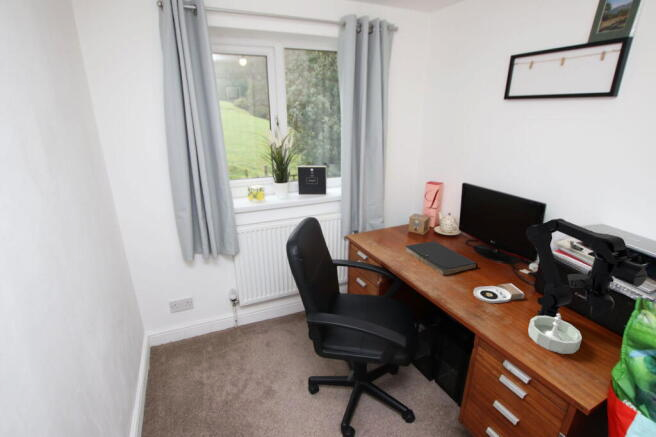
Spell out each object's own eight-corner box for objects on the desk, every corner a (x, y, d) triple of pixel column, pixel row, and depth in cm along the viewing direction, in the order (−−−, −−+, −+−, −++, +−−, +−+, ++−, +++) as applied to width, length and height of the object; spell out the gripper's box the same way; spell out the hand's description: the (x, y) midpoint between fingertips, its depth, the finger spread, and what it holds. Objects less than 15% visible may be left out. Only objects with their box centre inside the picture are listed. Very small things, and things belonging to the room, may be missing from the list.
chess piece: (554, 332, 116) (560, 309, 113) (564, 341, 112) (571, 317, 109) (541, 332, 116) (547, 309, 113) (551, 341, 112) (557, 318, 108)
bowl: (527, 321, 124) (529, 311, 122) (573, 332, 117) (576, 322, 116) (530, 344, 111) (532, 334, 110) (582, 359, 105) (585, 348, 103)
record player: (526, 295, 137) (484, 298, 135) (525, 301, 138) (483, 305, 136) (508, 281, 148) (469, 285, 146) (507, 287, 149) (468, 290, 147)
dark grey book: (404, 245, 187) (436, 240, 196) (404, 251, 189) (435, 246, 197) (442, 269, 158) (478, 261, 167) (441, 276, 159) (477, 268, 168)
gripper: (569, 256, 116) (559, 292, 121) (576, 277, 101) (565, 318, 106) (607, 263, 111) (596, 300, 116) (621, 286, 96) (607, 328, 101)
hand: (590, 311), depth 110 cm, fingers open, 9 cm apart
